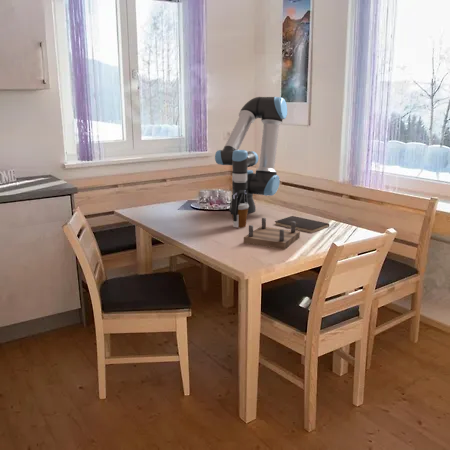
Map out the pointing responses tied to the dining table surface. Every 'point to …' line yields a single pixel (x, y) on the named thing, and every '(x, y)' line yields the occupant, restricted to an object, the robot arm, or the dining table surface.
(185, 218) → the dining table surface
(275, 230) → the peg board
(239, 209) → the disposable coffee cup
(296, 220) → the hardcover book
